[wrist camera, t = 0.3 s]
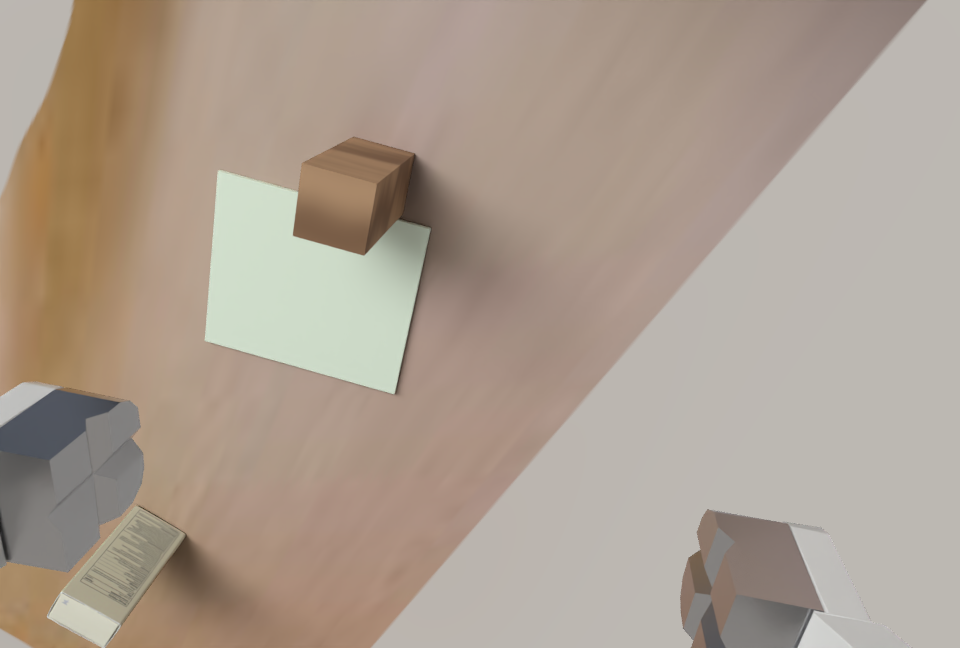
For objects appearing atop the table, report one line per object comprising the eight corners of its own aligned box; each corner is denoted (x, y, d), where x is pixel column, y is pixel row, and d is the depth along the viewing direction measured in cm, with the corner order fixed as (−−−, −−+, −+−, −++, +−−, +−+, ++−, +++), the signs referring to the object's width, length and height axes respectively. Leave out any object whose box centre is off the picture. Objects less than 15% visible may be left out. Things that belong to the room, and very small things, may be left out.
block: (353, 136, 54) (301, 163, 44) (414, 153, 54) (377, 183, 44) (343, 197, 56) (292, 236, 46) (402, 214, 56) (364, 255, 46)
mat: (220, 169, 57) (217, 170, 56) (431, 227, 56) (430, 229, 56) (207, 339, 63) (204, 340, 63) (395, 392, 63) (394, 394, 63)
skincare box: (122, 527, 74) (41, 616, 63) (137, 502, 73) (57, 589, 62) (173, 558, 75) (103, 652, 64) (189, 535, 74) (120, 626, 62)
